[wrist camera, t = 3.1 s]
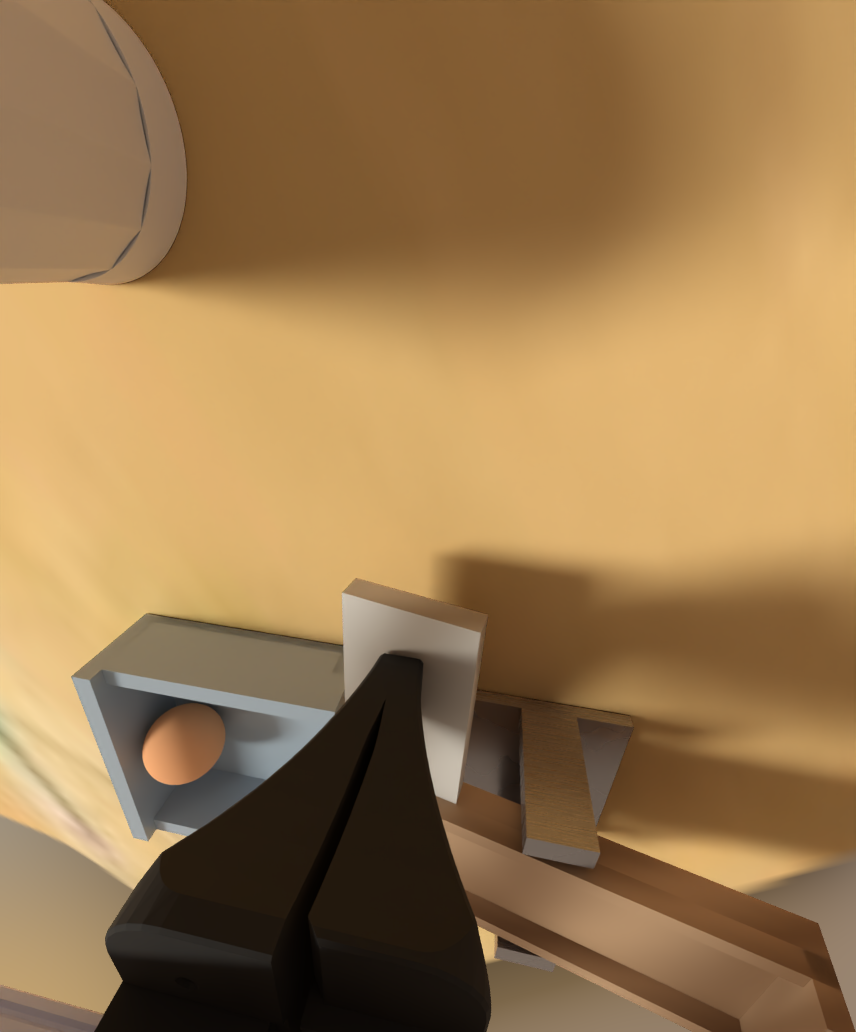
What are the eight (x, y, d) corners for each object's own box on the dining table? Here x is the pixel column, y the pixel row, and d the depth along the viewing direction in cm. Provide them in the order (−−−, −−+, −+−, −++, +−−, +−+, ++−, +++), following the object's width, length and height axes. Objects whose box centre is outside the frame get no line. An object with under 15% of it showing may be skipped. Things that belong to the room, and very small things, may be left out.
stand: (630, 716, 16) (676, 868, 12) (588, 831, 19) (612, 986, 15) (469, 688, 17) (455, 822, 13) (453, 803, 20) (438, 944, 16)
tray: (361, 649, 17) (329, 724, 14) (362, 799, 21) (337, 884, 18) (146, 613, 18) (71, 676, 15) (186, 763, 22) (133, 837, 19)
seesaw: (972, 748, 9) (1075, 870, 7) (746, 1004, 14) (768, 1115, 12) (356, 577, 13) (310, 624, 11) (358, 825, 18) (328, 886, 16)
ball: (233, 716, 18) (152, 767, 16) (243, 764, 19) (168, 818, 17) (200, 676, 19) (122, 717, 17) (210, 723, 21) (139, 767, 19)
